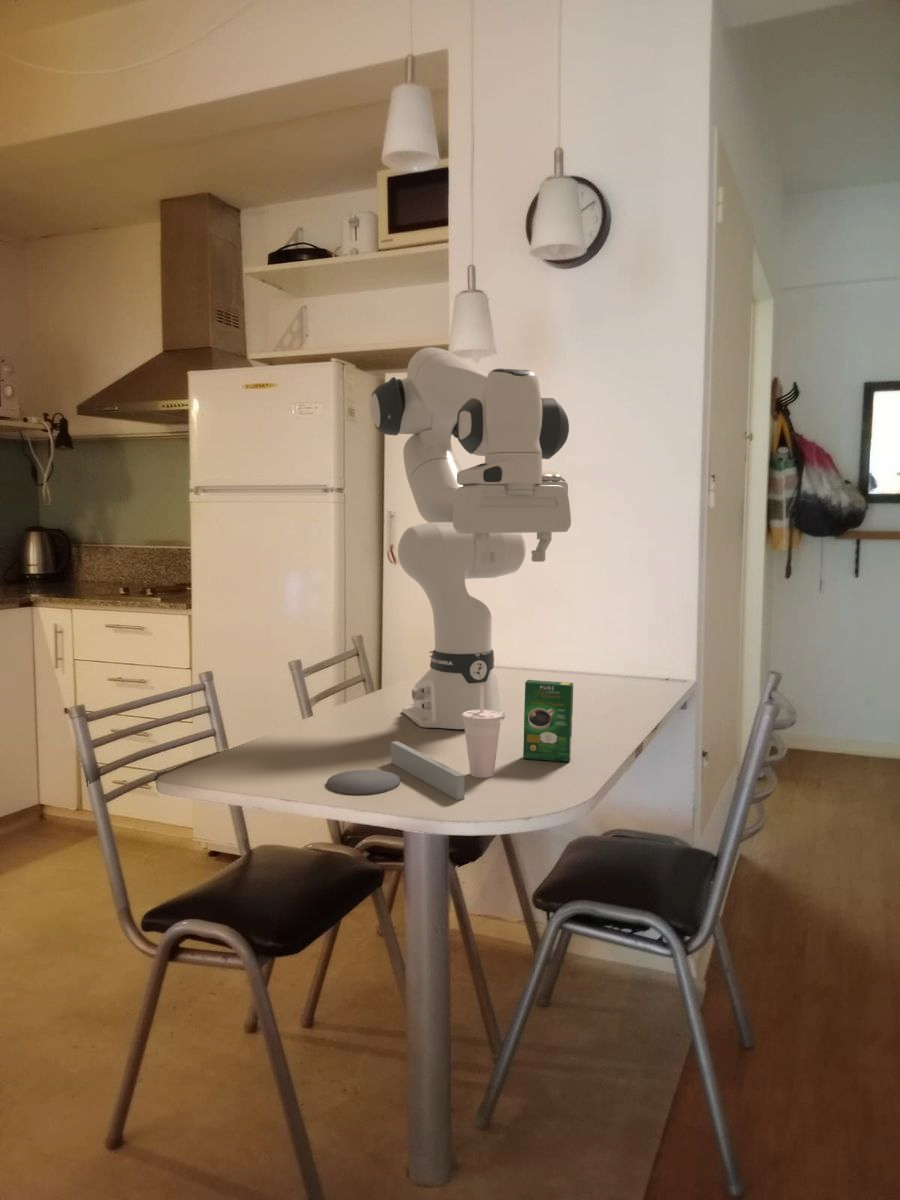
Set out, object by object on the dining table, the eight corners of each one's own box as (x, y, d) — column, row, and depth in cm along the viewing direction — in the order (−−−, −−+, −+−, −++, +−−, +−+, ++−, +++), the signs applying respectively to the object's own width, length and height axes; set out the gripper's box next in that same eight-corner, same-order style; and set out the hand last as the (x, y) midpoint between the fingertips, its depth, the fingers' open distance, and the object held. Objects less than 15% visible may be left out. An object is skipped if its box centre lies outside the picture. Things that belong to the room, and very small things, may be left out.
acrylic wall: (391, 762, 148) (391, 741, 147) (397, 761, 148) (397, 741, 148) (457, 800, 129) (457, 776, 128) (464, 798, 129) (464, 774, 129)
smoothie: (500, 768, 144) (500, 682, 143) (504, 780, 138) (504, 690, 137) (460, 768, 144) (460, 682, 143) (462, 780, 138) (462, 690, 136)
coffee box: (573, 758, 150) (574, 680, 149) (571, 763, 147) (572, 684, 146) (525, 755, 152) (526, 678, 151) (522, 759, 149) (523, 681, 148)
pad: (316, 779, 139) (316, 776, 139) (381, 769, 144) (381, 766, 144) (343, 799, 129) (343, 795, 129) (412, 787, 135) (412, 784, 135)
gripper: (555, 475, 148) (555, 559, 149) (447, 473, 138) (448, 563, 139) (579, 473, 142) (579, 561, 143) (468, 471, 132) (469, 565, 133)
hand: (513, 562), depth 141 cm, fingers open, 8 cm apart
